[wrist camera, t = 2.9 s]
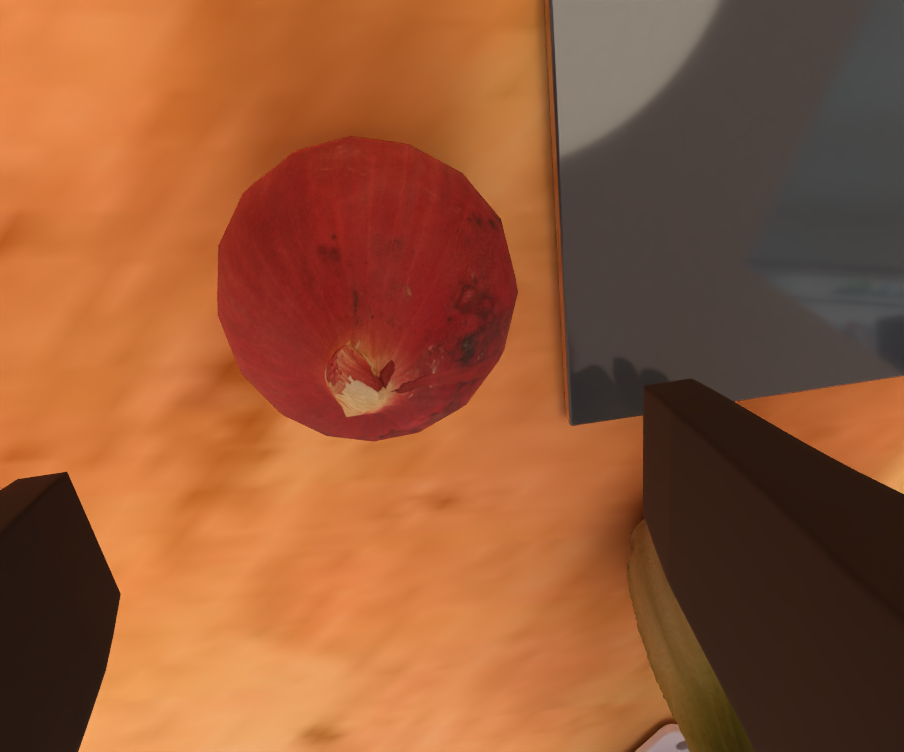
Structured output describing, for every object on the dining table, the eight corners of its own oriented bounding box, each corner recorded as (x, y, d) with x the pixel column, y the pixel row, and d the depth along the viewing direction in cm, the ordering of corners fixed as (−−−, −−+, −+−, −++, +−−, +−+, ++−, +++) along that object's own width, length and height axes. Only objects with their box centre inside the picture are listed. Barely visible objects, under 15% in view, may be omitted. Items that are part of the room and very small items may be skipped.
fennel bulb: (579, 539, 25) (738, 991, 14) (695, 430, 23) (972, 847, 12) (702, 616, 27) (920, 1056, 16) (817, 520, 25) (1140, 940, 15)
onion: (509, 124, 18) (599, 245, 11) (466, 348, 21) (517, 557, 14) (248, 85, 17) (170, 190, 10) (238, 324, 20) (171, 536, 13)
